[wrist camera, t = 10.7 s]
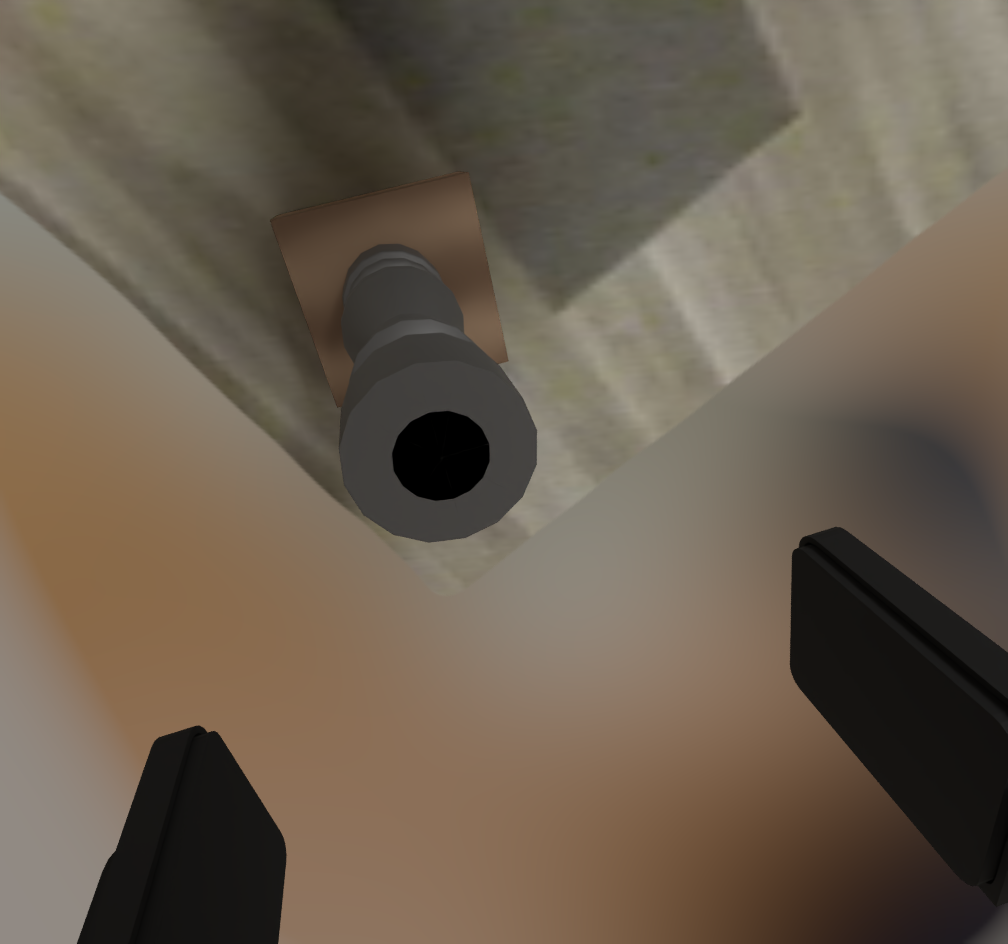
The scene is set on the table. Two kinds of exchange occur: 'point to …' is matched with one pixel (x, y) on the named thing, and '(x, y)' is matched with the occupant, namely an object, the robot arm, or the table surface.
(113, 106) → the table surface
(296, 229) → the walnut plinth
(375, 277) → the candle holder
